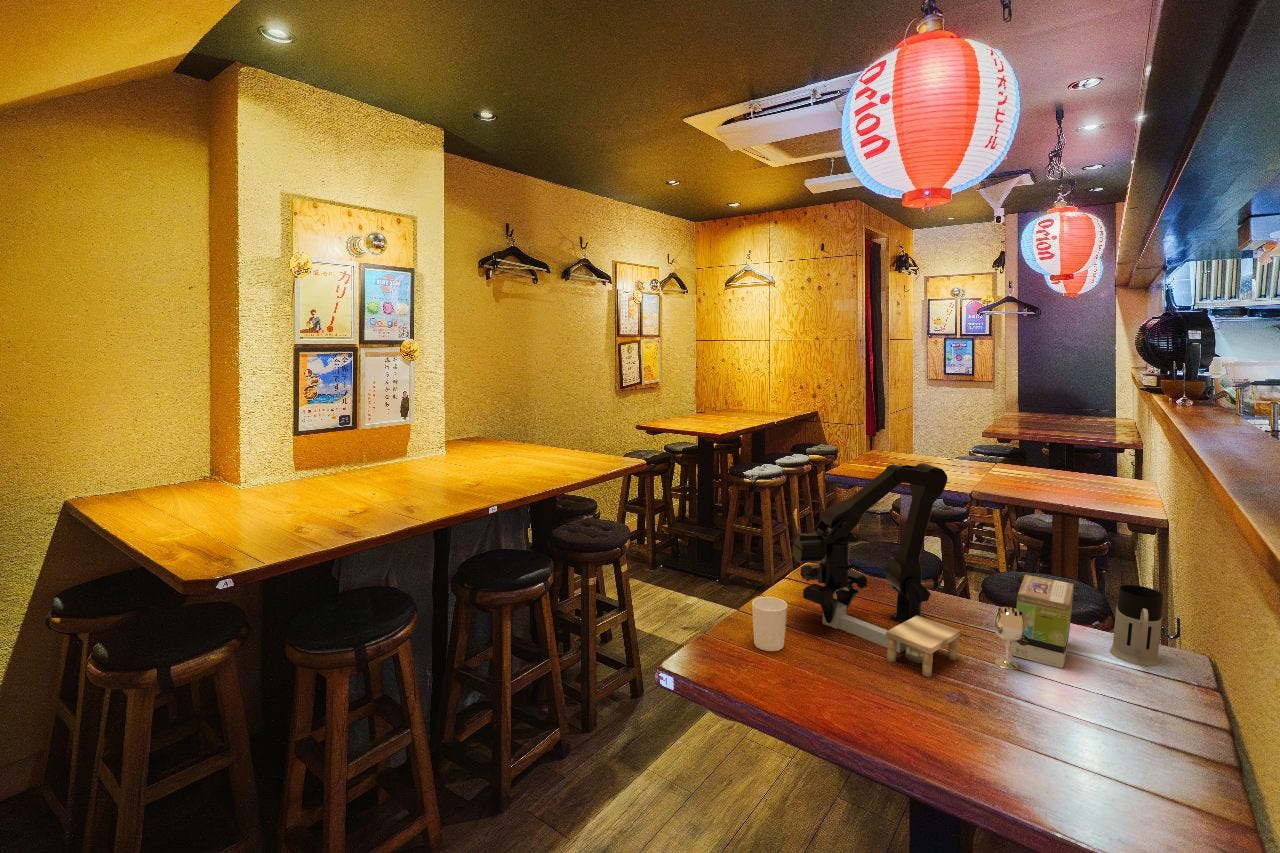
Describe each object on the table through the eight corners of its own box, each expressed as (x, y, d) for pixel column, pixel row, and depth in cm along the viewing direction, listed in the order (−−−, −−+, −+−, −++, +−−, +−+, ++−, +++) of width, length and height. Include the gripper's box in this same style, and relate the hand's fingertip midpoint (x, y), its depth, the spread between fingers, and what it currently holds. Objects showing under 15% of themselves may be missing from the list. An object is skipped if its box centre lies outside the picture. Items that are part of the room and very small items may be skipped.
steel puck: (912, 650, 142) (913, 637, 141) (934, 658, 138) (934, 645, 138) (900, 657, 139) (901, 644, 138) (922, 666, 135) (923, 652, 134)
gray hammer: (832, 618, 158) (832, 600, 157) (907, 648, 142) (908, 628, 142) (822, 623, 155) (823, 604, 155) (897, 654, 140) (898, 633, 139)
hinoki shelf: (915, 641, 145) (916, 615, 145) (959, 658, 138) (960, 630, 137) (884, 659, 137) (886, 631, 137) (929, 678, 130) (930, 648, 129)
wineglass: (991, 667, 134) (995, 613, 132) (990, 655, 139) (994, 603, 137) (1022, 673, 131) (1027, 619, 130) (1021, 661, 136) (1025, 608, 135)
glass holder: (1156, 652, 139) (1163, 588, 137) (1167, 682, 127) (1175, 612, 125) (1107, 643, 144) (1113, 580, 142) (1114, 670, 132) (1120, 603, 130)
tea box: (1065, 670, 132) (1070, 603, 130) (1010, 656, 138) (1015, 592, 137) (1069, 643, 144) (1074, 581, 142) (1018, 631, 150) (1023, 572, 148)
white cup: (784, 637, 148) (784, 597, 147) (788, 653, 140) (789, 611, 139) (750, 636, 149) (751, 596, 148) (752, 652, 141) (753, 610, 140)
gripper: (831, 543, 165) (829, 599, 167) (785, 558, 154) (784, 619, 156) (869, 554, 156) (866, 613, 158) (824, 571, 145) (821, 635, 147)
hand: (834, 619), depth 155 cm, fingers open, 5 cm apart
